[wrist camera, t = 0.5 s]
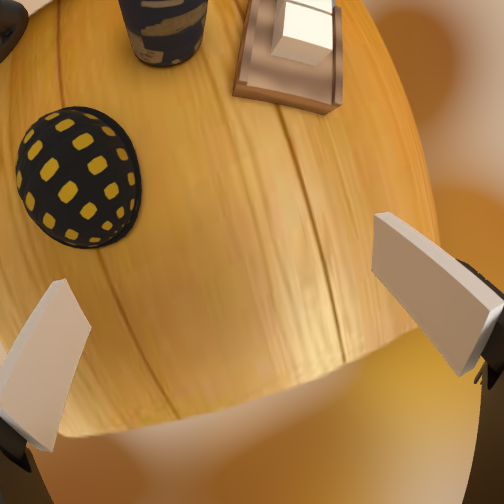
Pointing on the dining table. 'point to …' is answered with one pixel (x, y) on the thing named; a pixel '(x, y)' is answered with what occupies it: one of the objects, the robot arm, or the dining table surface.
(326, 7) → the block
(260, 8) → the board
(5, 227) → the dining table surface
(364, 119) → the dining table surface
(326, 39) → the block
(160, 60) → the canister
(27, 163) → the yellow spotted black dome
